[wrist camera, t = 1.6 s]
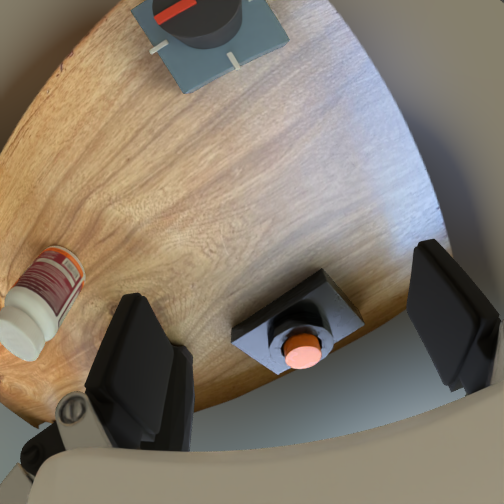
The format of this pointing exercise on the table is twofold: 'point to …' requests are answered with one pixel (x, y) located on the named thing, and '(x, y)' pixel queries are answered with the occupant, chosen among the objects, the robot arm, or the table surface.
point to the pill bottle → (40, 302)
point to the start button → (302, 351)
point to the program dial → (199, 20)
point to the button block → (298, 321)
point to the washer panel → (216, 59)
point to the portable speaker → (176, 407)
